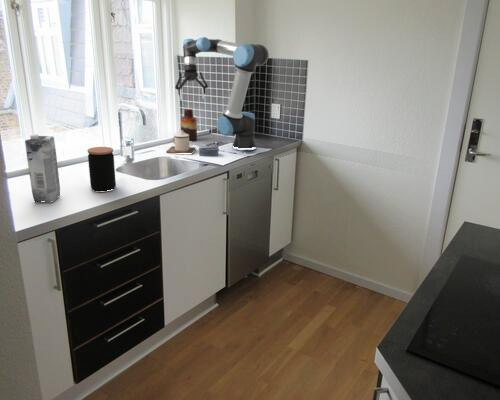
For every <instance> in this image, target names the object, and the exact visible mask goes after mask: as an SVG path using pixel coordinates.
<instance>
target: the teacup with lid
mask: <svg viewBox="0 0 500 400" xmlns="http://www.w3.org/2000/svg"><path fill="white" fill-rule="evenodd" d="M172 142H173V144H174V146H175V150H176V151H188V150H189V147H190V142H189V134H186V133H185V132H183V131H181V130H180V131H179V132H177V133H175V134H174V136H173V137H172Z"/></svg>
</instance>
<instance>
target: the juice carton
mask: <svg viewBox="0 0 500 400" xmlns="http://www.w3.org/2000/svg"><path fill="white" fill-rule="evenodd" d="M29 138H30V139H29ZM29 138H28V139H26V140H25V141H24V143H25V152H26V159H27V165H28V174H29V179H30V187H31V194H32V198H33V201H35V202H34V203H36V202H41V201H45V202H51V201H54V200H55V199H56V198H57V197H58V196H59V197H60V195H61V184H60V177H59V174H60V173H59V165H58V158H57V149H56V142H55V136H49V135H39V134H36V133H34V134H30V135H29ZM59 197H58V198H59ZM58 198H57V199H58ZM57 199H56V200H57ZM56 200H55V201H56ZM55 201H54V202H55Z"/></svg>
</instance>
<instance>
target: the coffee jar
mask: <svg viewBox="0 0 500 400" xmlns="http://www.w3.org/2000/svg"><path fill="white" fill-rule="evenodd" d="M113 152H114V149H113V148H112V147H108V146H95V147H94V146H93V147H90V148H88V149H87V153H88V154H87V159H88V160H87V162H88V171H89V183H90V188H91V190H92V191H93V190H94V192H95V191H107V190H111V189H114V190H115V188H116V187H117V185H116V183H117V182H116V170H115V167H116V166H115V156H114V153H113Z"/></svg>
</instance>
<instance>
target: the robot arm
mask: <svg viewBox="0 0 500 400" xmlns="http://www.w3.org/2000/svg"><path fill="white" fill-rule="evenodd" d="M182 51H183V64H184V73H180V72H179V77H178V79H177V82H176V83H175V86H174V88H175V89H176V90H178V92H177V93H178V95H179V96H180V101H181V102H182V101H183V91H182V88H183V87H184V86H185V84H186V83H187V82H190V81H192V82H193V81H196V82H197V83H198V84H199V86H200V87H202V88H201V92H202V95H201V96H202V100H203V101H204V100H205V94H206V89H208V88H209V85H208V83H207V82H206V80H205V78H204V77H203V72H202V71H200V72H198V69H197V56H196V55H197V54H200V53H217V54H222V55H227V56H232V59H233V63H234V68H235V69H236V71H235V73H234V74H235V75H234V79H233V84H232V87H231V91H230V96H229V100H228V103H227V107H226V109H224V110H223V113H222V116H220V117H219V118H217V121H216V127H217V129H218V132H219V133H220V134H221V135H222V136H225V137H227V136H229V137H230V136H234V135H235V137H234V139H233V143H232V147H233V146H234V147H238V148H252V147H256V148H257V143H256V139H255V127H256V126H255V123H256V118H255V117H256V116H255V113H253V112H248V111H242V110H243V106H244V103H245V99H246V96H247V92H248V88H249V84H250V81H251V77H252V74H254V73H255V72H256V68H257V67H261V66H263V65H265V64H266V63H267V61H268V60H269V58H270V57H269V50H268V48H267V47H266V46H265V45H263V44H260V43H259V44H255V43H252V44H251V43H243V44H241V43H236V42H231V41H227V40H225V41H224V40H223V39H219V38H218V39H214V38H211V39H210V38H207V37H206V36H203V37H199V38H198V39H193V38H186V39H183V41H182ZM183 77H184V79H183V81H182V78H183ZM197 77H200V79H201V80H202V82H203V83H202V82H201V81H200V80H199V79H198V78H197ZM181 81H182V82H181Z"/></svg>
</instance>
